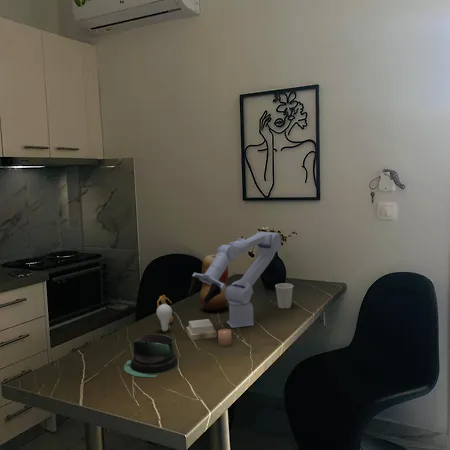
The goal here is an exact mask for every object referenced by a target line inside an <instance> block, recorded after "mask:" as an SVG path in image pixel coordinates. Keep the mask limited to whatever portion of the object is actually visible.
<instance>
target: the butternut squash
mask: <svg viewBox="0 0 450 450" xmlns="http://www.w3.org/2000/svg"><path fill="white" fill-rule="evenodd" d="M216 255H217V254H215V253H214V254H208V255H206V256H205V257H204V259H203V261H202V266H201V274H205V273H206V271H207V270H208V268H209V267H210V265H211V264H212V262H213V261H214V259H215V257H216ZM228 277H229V265H228V266H227V267H226V269H225V271H224V272H223V274H222V275H221V277H220V278H219V280H218V281H220V282H221V283H224V284H225V286H226V287H225V289H224V290H221V293H220V294H219V295H217V296H215V297H214V298H212V299H211V300H210V301H209V302H208V303H207V304H206V303H205V302H204V298H205V297H206V295H207V293H208V292H209V290H210V287H211V285H210V284H207V283H205V282H202V285H201V286H202V287H201V289H200V291H199V301H200V304H201V305H202V307H204V308H205V309H206V310H209V311H219V310H222V309H223V307H225V306H226V305H227V304H229V303H228V300H227V299H226V298H225V290H226V288H227V287H228V284H227V283H228Z"/></svg>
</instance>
